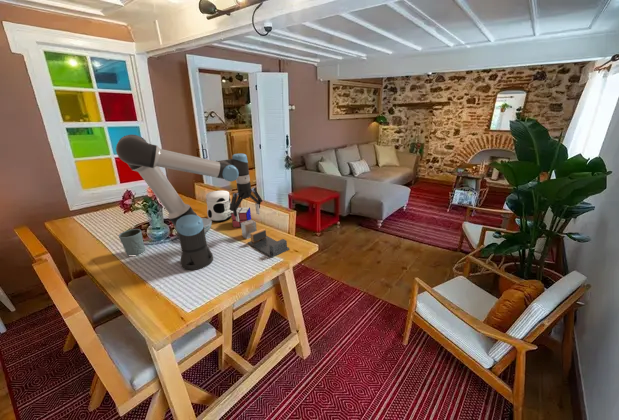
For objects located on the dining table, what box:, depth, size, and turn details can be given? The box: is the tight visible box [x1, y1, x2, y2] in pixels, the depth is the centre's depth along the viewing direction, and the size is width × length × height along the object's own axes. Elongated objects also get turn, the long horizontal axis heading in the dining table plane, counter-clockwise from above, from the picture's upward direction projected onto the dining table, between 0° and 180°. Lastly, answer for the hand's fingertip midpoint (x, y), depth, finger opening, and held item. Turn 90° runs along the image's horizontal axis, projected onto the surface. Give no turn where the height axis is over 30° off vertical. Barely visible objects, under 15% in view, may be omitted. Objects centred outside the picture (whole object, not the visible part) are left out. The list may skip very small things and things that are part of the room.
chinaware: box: [201, 217, 213, 236], centre depth 164 cm, size 15×15×8 cm
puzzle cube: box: [231, 206, 252, 228], centre depth 177 cm, size 10×10×10 cm
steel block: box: [240, 219, 258, 240], centre depth 160 cm, size 7×5×9 cm
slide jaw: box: [250, 228, 267, 242], centre depth 153 cm, size 9×2×5 cm, turn 133°
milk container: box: [205, 189, 232, 222], centre depth 186 cm, size 17×17×18 cm
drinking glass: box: [118, 228, 146, 256], centre depth 144 cm, size 10×10×12 cm
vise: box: [247, 235, 290, 259], centre depth 147 cm, size 12×22×6 cm, turn 43°
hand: (248, 217), depth 157 cm, fingers open, 13 cm apart
